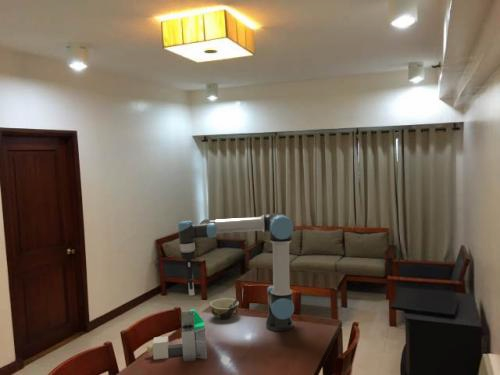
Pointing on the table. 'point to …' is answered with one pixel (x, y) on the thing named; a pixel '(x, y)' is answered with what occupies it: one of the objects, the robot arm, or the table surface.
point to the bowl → (224, 307)
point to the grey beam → (164, 348)
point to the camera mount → (197, 320)
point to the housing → (192, 338)
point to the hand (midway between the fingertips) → (191, 291)
